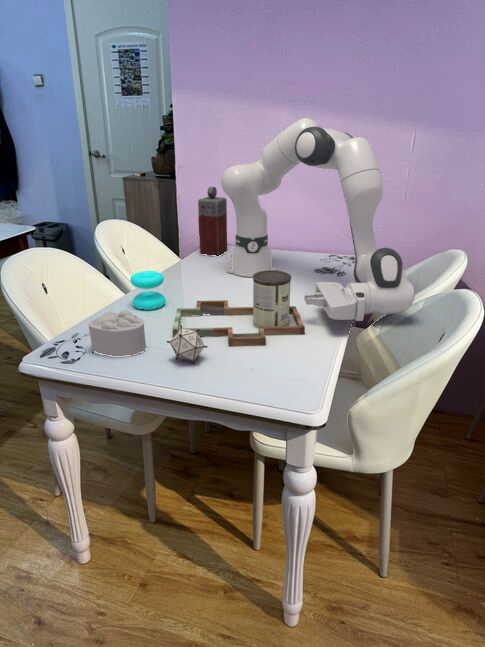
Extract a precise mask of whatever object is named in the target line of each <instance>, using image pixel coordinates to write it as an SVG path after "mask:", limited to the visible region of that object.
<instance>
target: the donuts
mask: <svg viewBox="0 0 485 647" xmlns="http://www.w3.org/2000/svg"><path fill="white" fill-rule="evenodd" d="M164 280H165V277H164V275H163V273H161V272H159V271H154V270H143V271H138V272H135V273H133V274H132V275H131V277H130V280H129V281H130V283H131V285H132V286H133V287H135V288H137V289H140V290H141V289H142V290H149V289H151V290H152V289H155V288H157V287H160V286H161V285H162V284H163V283H164ZM166 302H167V301H166V296H164V294H163V293H160V292H159V291H143V292H140V293H137V295H135V296H134V297H133V299H132V305H133V306H134V307H135V308H136V309H138V310H141V309H144V310H143V311H153V310H157V308H158V309H160V308H162V307H163V306H164V305H165V304H166Z"/></svg>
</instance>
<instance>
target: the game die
mask: <svg viewBox="0 0 485 647" xmlns="http://www.w3.org/2000/svg"><path fill="white" fill-rule="evenodd" d="M180 328H181V329H180ZM179 329H180V330H179V331H178V333H177V334H176V335H175V336H174V337H173V336H172V339H171V340H167V341H165V342H166V343H167V344H170V346H171V348H172V350H173V352H174V353H175V358H174V359H176V360H178V359H182V360H187V361H190V362H192V365H193V364H194V365H195V364H196V362H195V360H196V358H197V357H198V356H199V355H200V353H201V352H202V351H203V350H204V348H205V349H207V348H209V346H208V345H205V344H204V343H205V342H204V341H203V339H202V338H201V337H200V335H199V333H198V331H200V329H198V330H197V331H194V330H189V329H184V327H183V325H181V324H180V327H179Z"/></svg>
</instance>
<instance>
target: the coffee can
mask: <svg viewBox="0 0 485 647" xmlns="http://www.w3.org/2000/svg"><path fill="white" fill-rule="evenodd" d="M252 280H253V283H252V286H253V287H252V288H253V290H252V292H253V293H252V294H253V295H252V296H253V297H252V299H253V300H252V301H253V304H252V307H253V315H252V316H253V317H252V318H253V319H252V325H253V326H254V328H256V329H258V330H259V327H270V326H290V314H289V307H290V306H291V305H290V303H291V302H290V301H291V300H290V299H291V298H290V297H291V280H292V275H291V274H290V273H288V272H286V271H282V270H276V271H275V270H267V271H261V272H257V273H255V274H254V275H253V277H252Z"/></svg>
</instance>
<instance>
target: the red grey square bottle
mask: <svg viewBox="0 0 485 647" xmlns="http://www.w3.org/2000/svg"><path fill="white" fill-rule="evenodd" d="M217 193H218V190H217V187H216V186H208V188H207V196H206V197H203V198H199V199H198V200H197V208H198V209H197V210H198V211H197V212H198V217H197V220H198V221H197V222H198V236H199V254H200V253H201V254H207V255H216V256H219V255H221V254H223V253H224V252H226V251H227V252H228V213H227V212H228V210H227V208H228V205H227V198H226V197H218V196H217ZM223 255H224V254H223ZM221 256H222V255H221Z"/></svg>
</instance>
